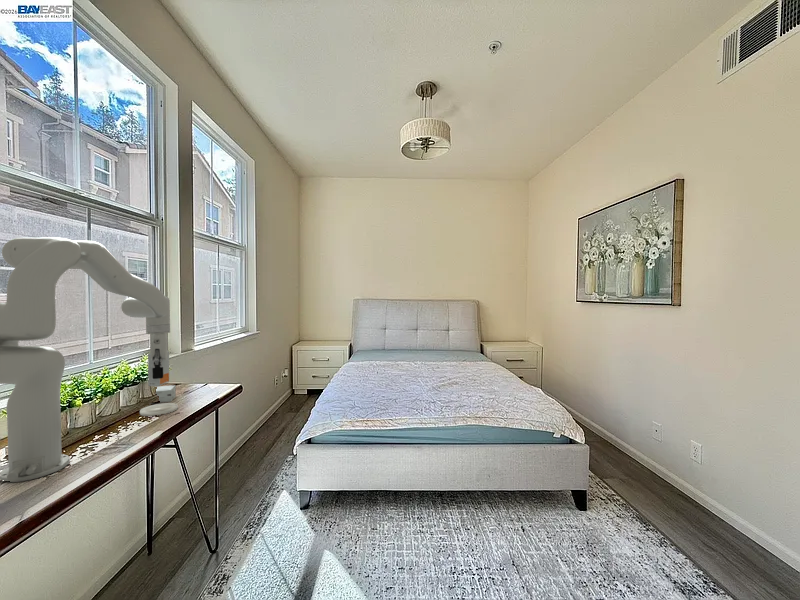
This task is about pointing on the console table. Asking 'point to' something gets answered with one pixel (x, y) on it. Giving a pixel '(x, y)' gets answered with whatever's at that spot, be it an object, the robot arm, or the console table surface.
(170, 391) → the small box
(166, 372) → the skincare box
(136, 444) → the console table surface
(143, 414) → the ceramic dish
